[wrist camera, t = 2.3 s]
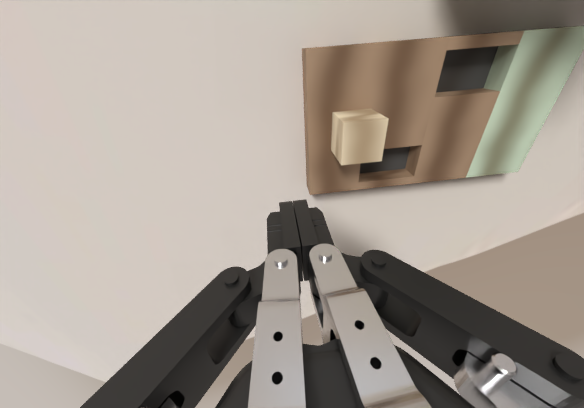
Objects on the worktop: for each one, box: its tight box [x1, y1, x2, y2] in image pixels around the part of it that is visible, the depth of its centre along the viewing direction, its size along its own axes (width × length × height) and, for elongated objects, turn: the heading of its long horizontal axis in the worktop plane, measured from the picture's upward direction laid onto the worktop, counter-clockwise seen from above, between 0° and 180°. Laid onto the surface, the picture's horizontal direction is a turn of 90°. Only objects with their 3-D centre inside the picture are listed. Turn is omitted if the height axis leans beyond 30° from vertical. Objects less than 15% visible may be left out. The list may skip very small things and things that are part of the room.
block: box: [331, 109, 389, 165], centre depth 23 cm, size 4×4×4 cm
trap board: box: [302, 26, 584, 195], centre depth 26 cm, size 27×15×2 cm, turn 94°
